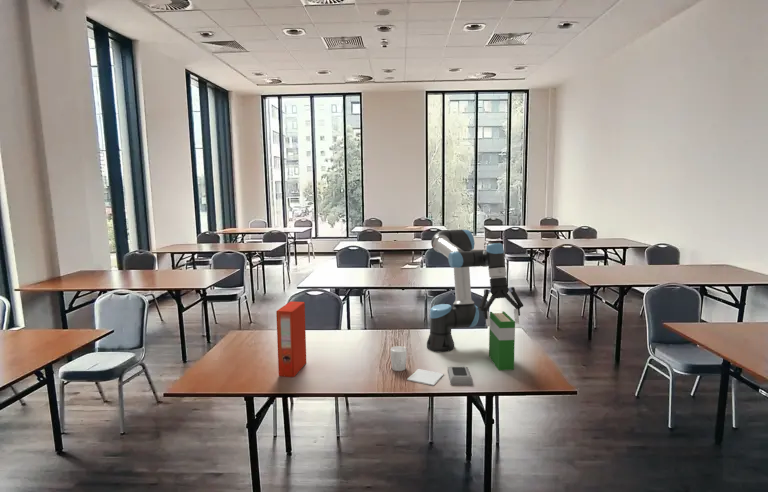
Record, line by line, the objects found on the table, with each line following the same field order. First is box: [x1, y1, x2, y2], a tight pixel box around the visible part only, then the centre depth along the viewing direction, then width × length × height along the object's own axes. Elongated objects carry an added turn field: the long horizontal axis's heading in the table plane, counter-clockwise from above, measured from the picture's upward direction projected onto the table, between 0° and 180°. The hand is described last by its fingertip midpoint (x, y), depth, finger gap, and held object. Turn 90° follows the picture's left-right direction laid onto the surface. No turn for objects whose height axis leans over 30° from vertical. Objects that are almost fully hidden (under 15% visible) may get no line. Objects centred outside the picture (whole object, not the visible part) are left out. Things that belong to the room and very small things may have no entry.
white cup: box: [389, 345, 408, 372], centre depth 224 cm, size 8×8×10 cm
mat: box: [406, 368, 444, 387], centre depth 213 cm, size 13×13×1 cm
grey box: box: [447, 365, 473, 386], centre depth 213 cm, size 10×4×15 cm
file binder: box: [275, 301, 307, 378], centre depth 223 cm, size 8×17×32 cm, turn 170°
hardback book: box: [488, 311, 516, 371], centre depth 228 cm, size 18×7×24 cm, turn 2°
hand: (503, 324), depth 205 cm, fingers open, 13 cm apart
